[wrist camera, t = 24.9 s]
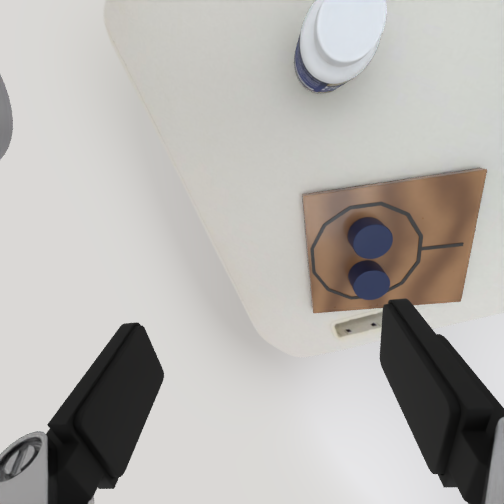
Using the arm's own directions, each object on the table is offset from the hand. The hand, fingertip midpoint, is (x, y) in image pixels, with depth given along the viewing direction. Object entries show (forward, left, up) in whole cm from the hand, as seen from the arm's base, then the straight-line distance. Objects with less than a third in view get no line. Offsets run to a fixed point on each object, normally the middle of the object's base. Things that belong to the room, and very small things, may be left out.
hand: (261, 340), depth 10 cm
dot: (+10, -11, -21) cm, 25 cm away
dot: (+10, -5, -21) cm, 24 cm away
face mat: (+12, -8, -22) cm, 26 cm away
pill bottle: (+6, +12, -22) cm, 26 cm away
